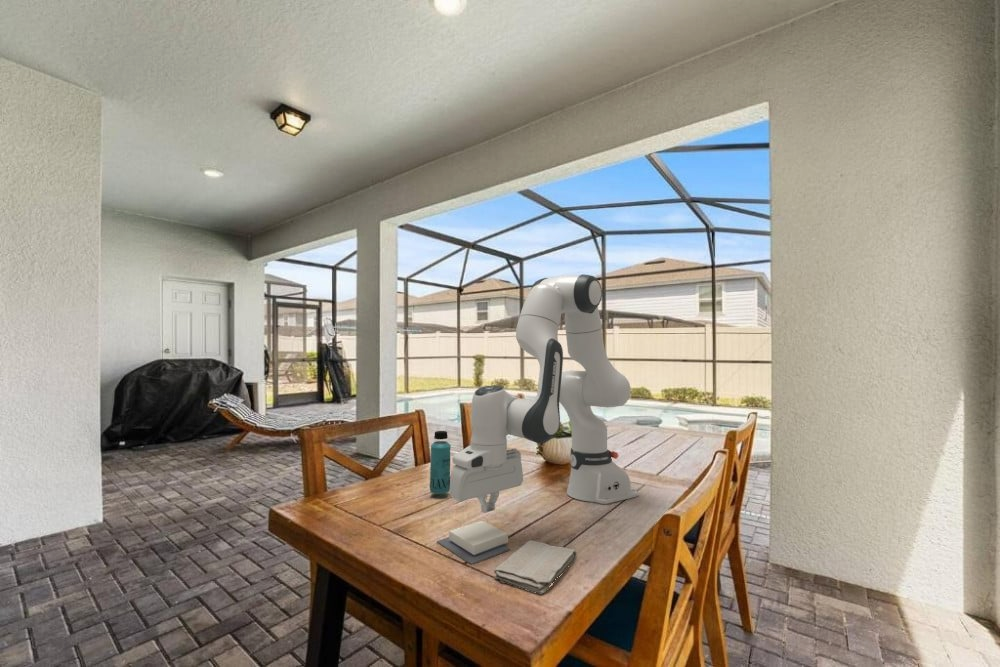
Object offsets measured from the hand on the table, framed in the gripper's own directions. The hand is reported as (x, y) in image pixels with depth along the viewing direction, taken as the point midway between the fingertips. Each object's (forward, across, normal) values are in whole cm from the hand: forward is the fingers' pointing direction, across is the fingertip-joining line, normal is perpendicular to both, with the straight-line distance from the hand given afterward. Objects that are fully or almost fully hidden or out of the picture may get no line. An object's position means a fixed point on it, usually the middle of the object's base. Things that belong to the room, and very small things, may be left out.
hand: (488, 511), depth 107 cm
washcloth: (+8, 0, +17) cm, 19 cm away
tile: (+6, -2, 0) cm, 6 cm away
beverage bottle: (+7, -8, -34) cm, 36 cm away
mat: (+7, +4, 0) cm, 8 cm away
